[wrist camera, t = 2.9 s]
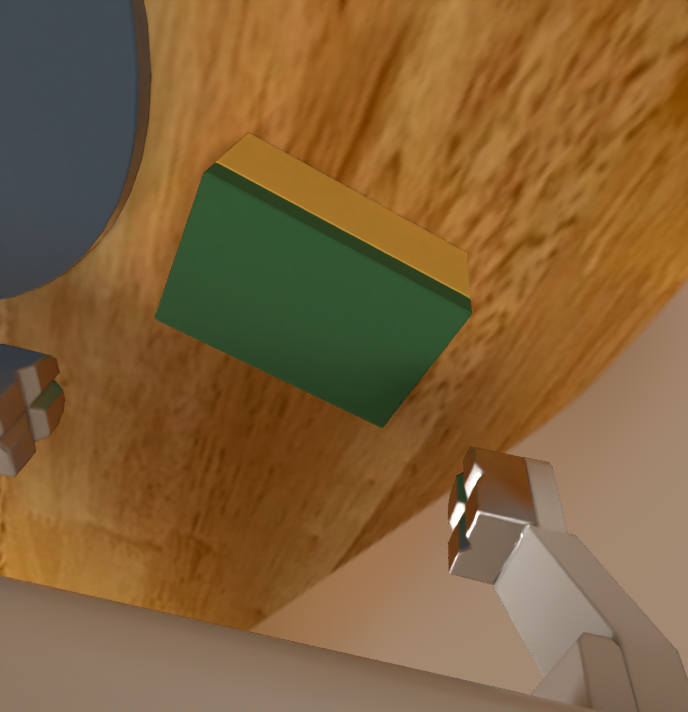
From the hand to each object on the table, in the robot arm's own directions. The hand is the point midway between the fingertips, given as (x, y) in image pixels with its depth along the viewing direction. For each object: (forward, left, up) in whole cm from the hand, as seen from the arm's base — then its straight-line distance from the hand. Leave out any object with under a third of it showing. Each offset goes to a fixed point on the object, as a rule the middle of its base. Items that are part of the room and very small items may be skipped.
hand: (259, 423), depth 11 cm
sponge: (0, 0, -8) cm, 8 cm away
